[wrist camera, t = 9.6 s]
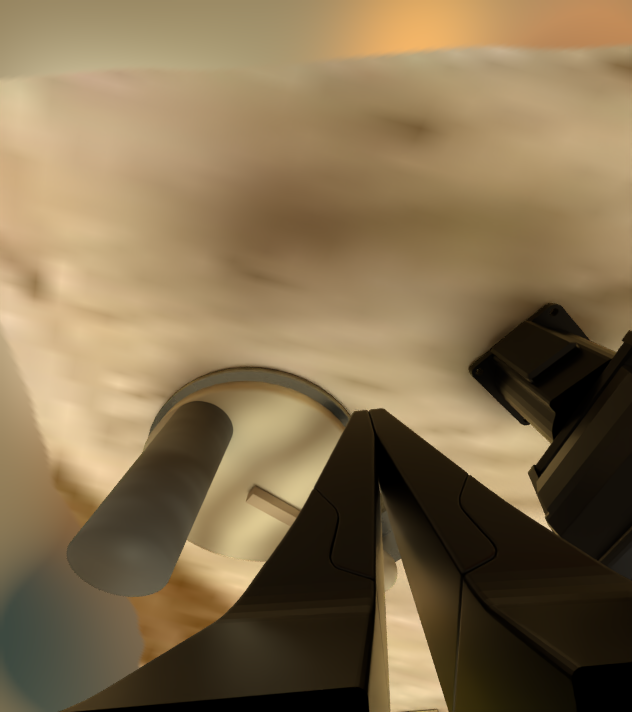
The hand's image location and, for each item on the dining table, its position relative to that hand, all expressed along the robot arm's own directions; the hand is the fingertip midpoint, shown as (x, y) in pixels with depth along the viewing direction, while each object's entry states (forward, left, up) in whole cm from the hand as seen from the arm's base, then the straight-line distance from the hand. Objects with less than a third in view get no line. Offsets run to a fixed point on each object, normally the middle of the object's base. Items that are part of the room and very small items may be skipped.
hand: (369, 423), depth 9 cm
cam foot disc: (-6, +13, -11) cm, 18 cm away
